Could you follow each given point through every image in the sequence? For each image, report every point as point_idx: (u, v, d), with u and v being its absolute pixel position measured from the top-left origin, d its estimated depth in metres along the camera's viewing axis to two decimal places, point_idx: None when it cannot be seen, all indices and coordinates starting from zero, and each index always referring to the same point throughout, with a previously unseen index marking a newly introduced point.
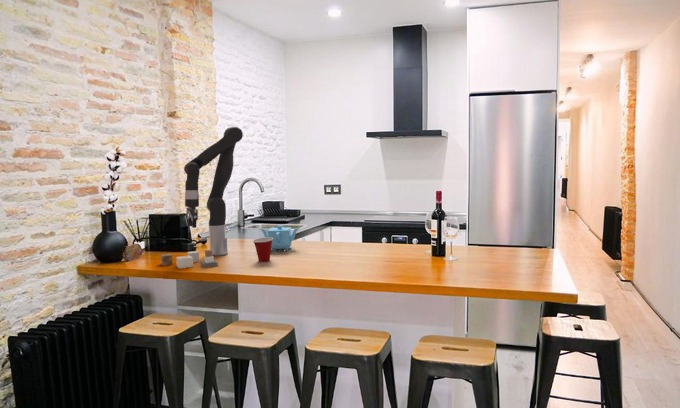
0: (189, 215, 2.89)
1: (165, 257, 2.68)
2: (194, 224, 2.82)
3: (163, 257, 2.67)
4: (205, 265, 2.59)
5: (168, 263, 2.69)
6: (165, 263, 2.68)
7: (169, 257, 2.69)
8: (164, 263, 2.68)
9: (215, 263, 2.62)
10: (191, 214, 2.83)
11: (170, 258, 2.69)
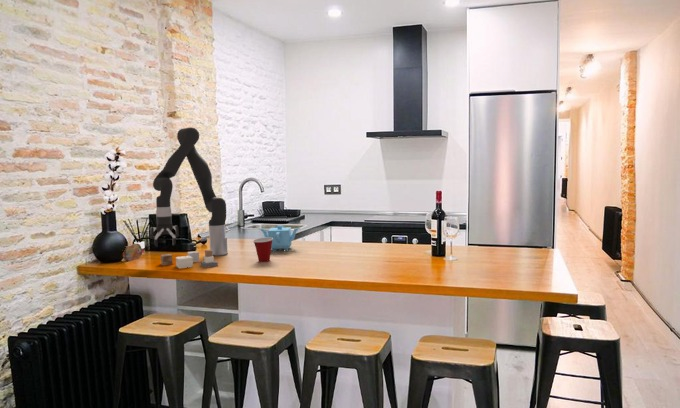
0: None
1: (165, 257, 2.68)
2: None
3: (163, 257, 2.67)
4: (205, 265, 2.59)
5: (168, 263, 2.69)
6: (165, 263, 2.68)
7: (169, 257, 2.69)
8: (164, 263, 2.68)
9: (215, 263, 2.62)
10: None
11: (170, 258, 2.69)
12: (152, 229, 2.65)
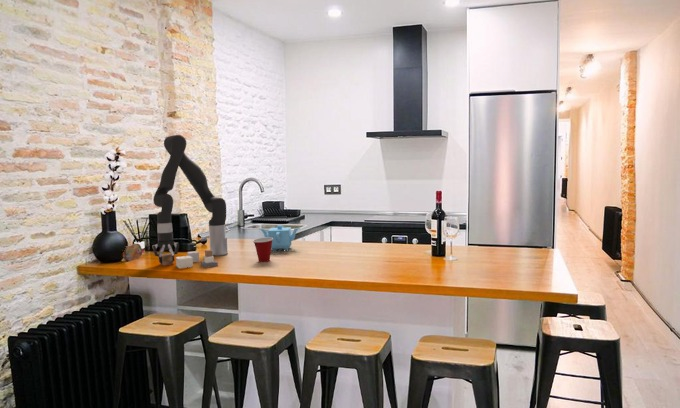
0: None
1: (165, 257, 2.68)
2: None
3: (163, 257, 2.67)
4: (205, 265, 2.59)
5: (168, 263, 2.69)
6: (165, 263, 2.68)
7: (169, 257, 2.69)
8: (164, 263, 2.68)
9: (215, 263, 2.62)
10: (171, 248, 2.70)
11: (170, 258, 2.69)
12: (154, 247, 2.66)
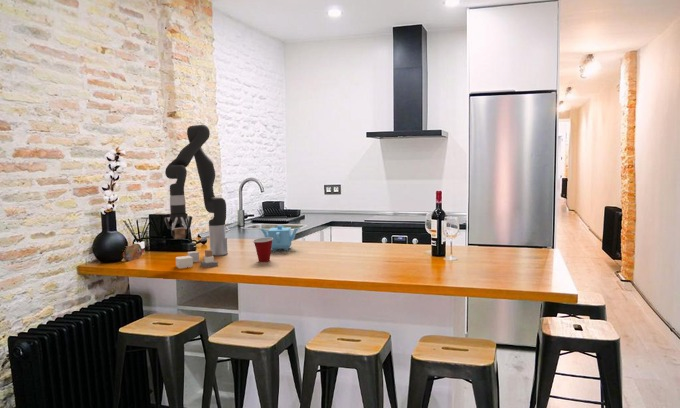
0: None
1: (178, 230, 2.61)
2: (186, 232, 2.65)
3: (176, 230, 2.60)
4: (205, 265, 2.59)
5: (181, 236, 2.62)
6: (178, 236, 2.61)
7: (182, 230, 2.62)
8: (177, 236, 2.61)
9: (215, 263, 2.62)
10: None
11: (183, 231, 2.62)
12: (166, 220, 2.59)
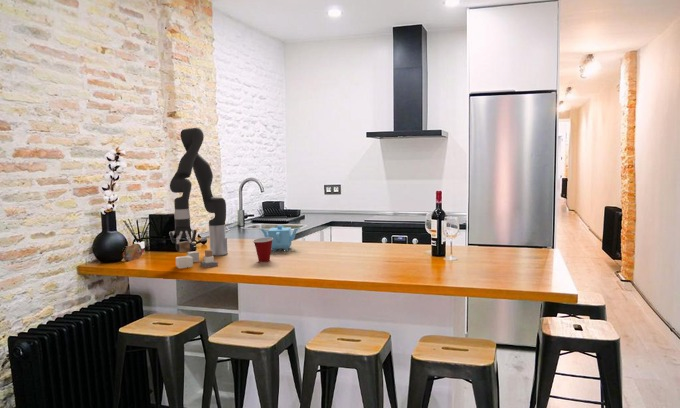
0: None
1: (182, 244, 2.60)
2: None
3: (180, 244, 2.59)
4: (205, 265, 2.59)
5: (185, 250, 2.61)
6: (182, 250, 2.60)
7: (186, 244, 2.61)
8: (181, 250, 2.60)
9: (215, 263, 2.62)
10: (188, 235, 2.62)
11: (187, 245, 2.61)
12: (171, 234, 2.58)
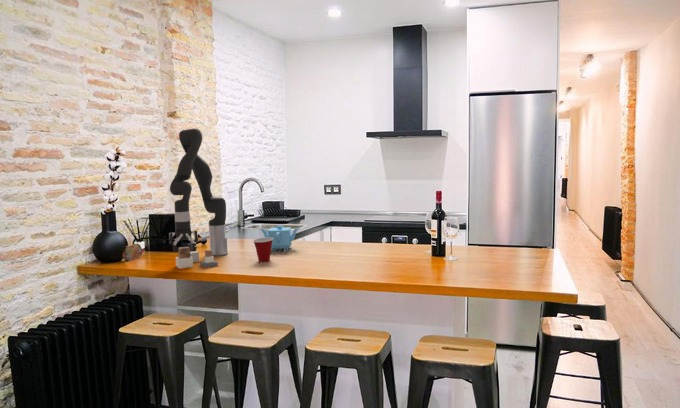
0: None
1: (183, 250, 2.60)
2: None
3: (181, 250, 2.60)
4: (205, 265, 2.59)
5: (186, 256, 2.61)
6: (183, 256, 2.60)
7: (187, 250, 2.61)
8: (182, 256, 2.60)
9: (215, 263, 2.62)
10: (190, 237, 2.63)
11: (188, 251, 2.61)
12: (171, 234, 2.58)
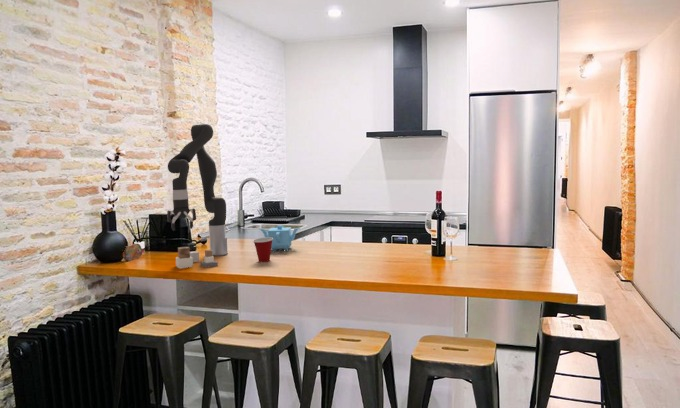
0: None
1: (182, 250, 2.60)
2: (192, 224, 2.66)
3: (180, 250, 2.60)
4: (205, 265, 2.59)
5: (185, 256, 2.61)
6: (182, 256, 2.60)
7: (186, 250, 2.61)
8: (181, 256, 2.60)
9: (215, 263, 2.62)
10: (188, 215, 2.64)
11: (187, 251, 2.61)
12: (169, 212, 2.59)
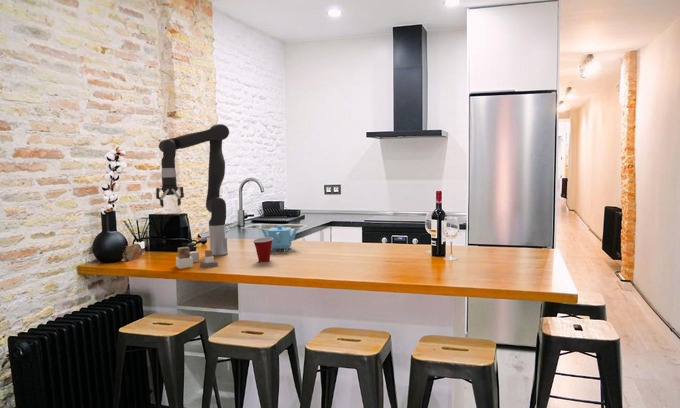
0: (164, 195, 2.75)
1: (182, 250, 2.60)
2: None
3: (180, 250, 2.59)
4: (205, 265, 2.59)
5: (185, 256, 2.61)
6: (182, 256, 2.60)
7: (186, 250, 2.61)
8: (181, 256, 2.60)
9: (215, 263, 2.62)
10: None
11: (187, 251, 2.61)
12: (158, 189, 2.73)
